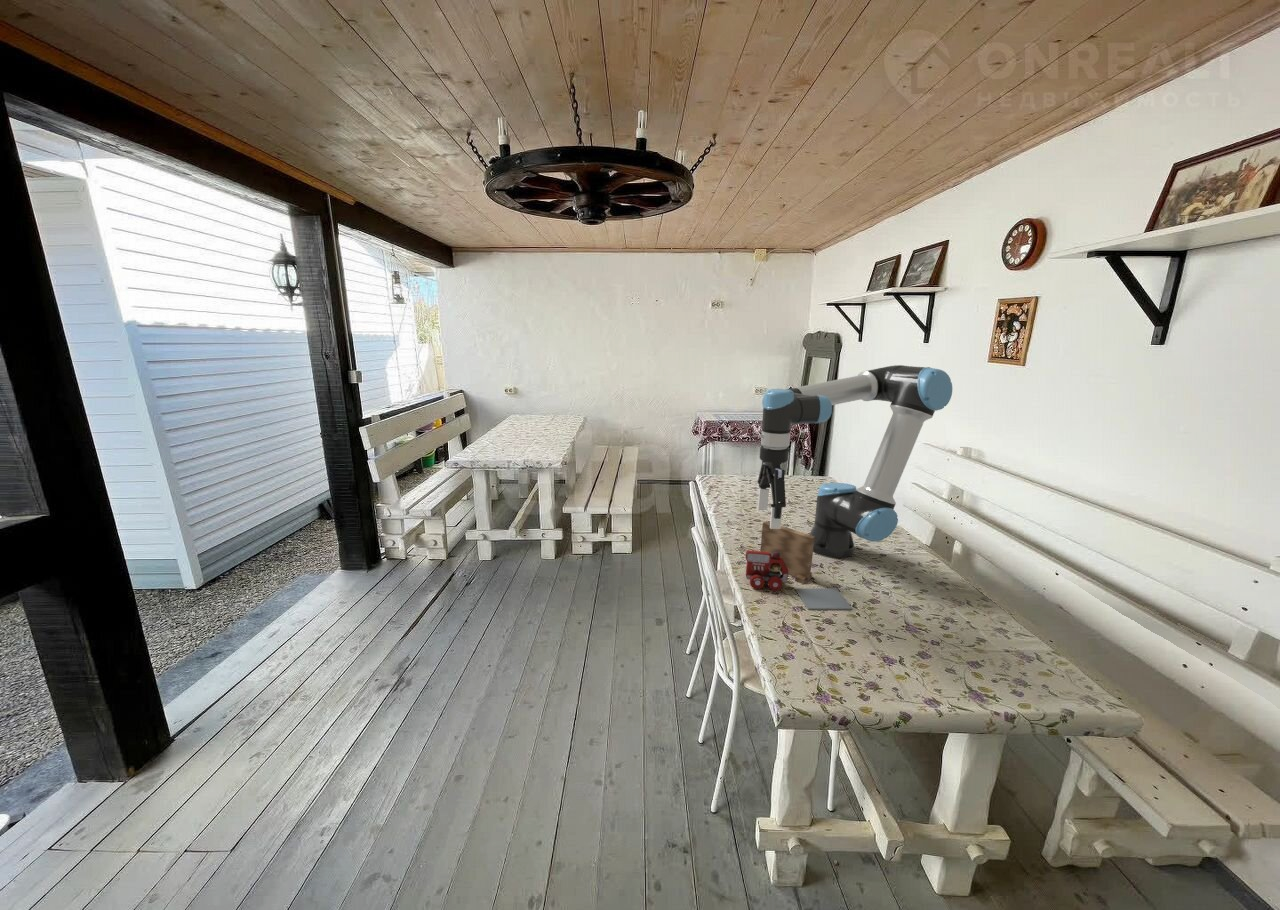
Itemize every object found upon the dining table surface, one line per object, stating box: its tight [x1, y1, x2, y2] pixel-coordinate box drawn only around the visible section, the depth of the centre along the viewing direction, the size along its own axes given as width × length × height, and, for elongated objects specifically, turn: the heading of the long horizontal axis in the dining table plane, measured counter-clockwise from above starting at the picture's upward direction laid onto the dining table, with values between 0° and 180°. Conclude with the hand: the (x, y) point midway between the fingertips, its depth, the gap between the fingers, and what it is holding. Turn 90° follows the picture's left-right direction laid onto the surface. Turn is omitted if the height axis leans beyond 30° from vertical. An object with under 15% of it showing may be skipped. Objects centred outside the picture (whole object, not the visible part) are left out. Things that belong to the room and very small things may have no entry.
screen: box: [759, 520, 815, 584], centre depth 144 cm, size 16×6×14 cm, turn 46°
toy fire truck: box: [745, 549, 789, 592], centre depth 136 cm, size 7×12×10 cm, turn 81°
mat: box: [794, 587, 853, 611], centre depth 130 cm, size 12×10×1 cm
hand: (768, 518), depth 133 cm, fingers open, 13 cm apart
